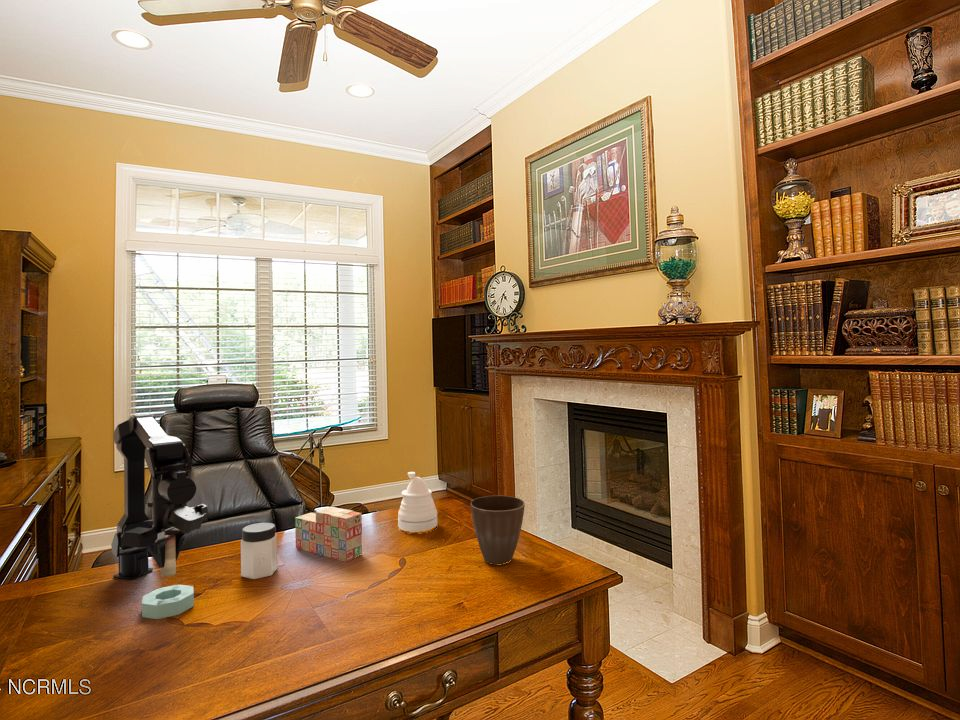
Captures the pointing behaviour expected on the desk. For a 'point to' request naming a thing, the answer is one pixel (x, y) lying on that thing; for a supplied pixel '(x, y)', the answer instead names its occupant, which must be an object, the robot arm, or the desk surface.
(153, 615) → the bead
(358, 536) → the stack of blocks
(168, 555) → the beige cylindrical peg
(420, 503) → the honey pot
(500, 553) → the plant pot
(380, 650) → the desk surface
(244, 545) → the jar
